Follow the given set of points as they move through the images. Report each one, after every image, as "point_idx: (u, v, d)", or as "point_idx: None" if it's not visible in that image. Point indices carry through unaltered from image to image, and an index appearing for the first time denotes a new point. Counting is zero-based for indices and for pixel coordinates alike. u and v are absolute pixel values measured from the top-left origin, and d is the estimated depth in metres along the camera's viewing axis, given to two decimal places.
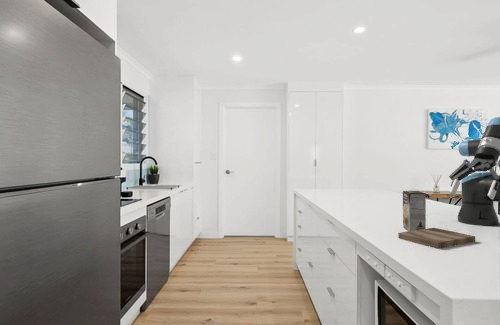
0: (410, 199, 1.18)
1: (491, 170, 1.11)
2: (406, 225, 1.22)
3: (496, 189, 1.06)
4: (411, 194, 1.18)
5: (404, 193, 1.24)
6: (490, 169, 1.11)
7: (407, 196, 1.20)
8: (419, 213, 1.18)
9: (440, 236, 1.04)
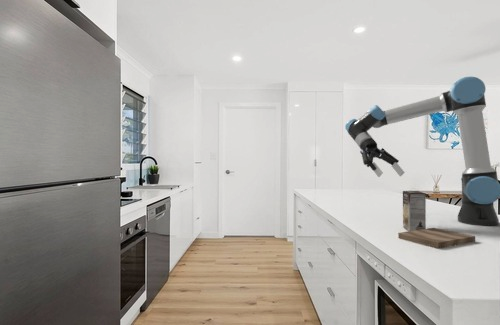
0: (410, 199, 1.18)
1: None
2: (406, 225, 1.22)
3: (374, 169, 1.31)
4: (411, 194, 1.18)
5: (404, 193, 1.24)
6: None
7: (407, 196, 1.20)
8: (419, 213, 1.18)
9: (440, 236, 1.04)
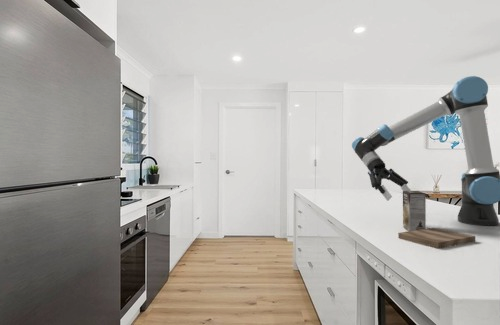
0: (410, 199, 1.18)
1: None
2: (406, 225, 1.22)
3: (383, 192, 1.26)
4: (411, 194, 1.18)
5: (404, 193, 1.24)
6: None
7: (407, 196, 1.20)
8: (419, 213, 1.18)
9: (440, 236, 1.04)
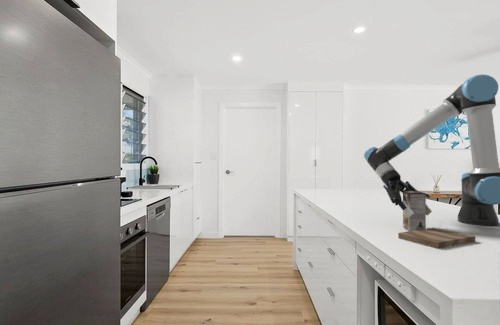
0: (411, 199, 1.18)
1: None
2: (406, 225, 1.22)
3: (404, 208, 1.19)
4: (411, 194, 1.18)
5: (404, 193, 1.24)
6: None
7: (407, 196, 1.20)
8: (419, 213, 1.18)
9: (440, 236, 1.04)
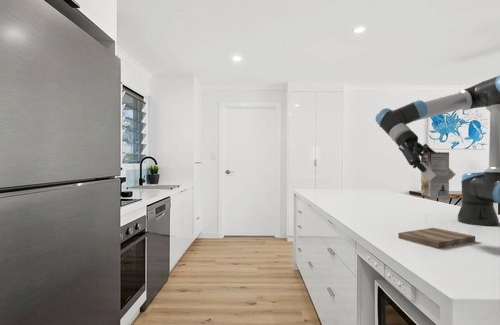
0: (432, 159, 1.03)
1: None
2: (426, 190, 1.07)
3: (424, 171, 1.04)
4: (432, 154, 1.03)
5: (423, 155, 1.09)
6: None
7: (427, 157, 1.05)
8: (441, 176, 1.02)
9: (440, 236, 1.04)
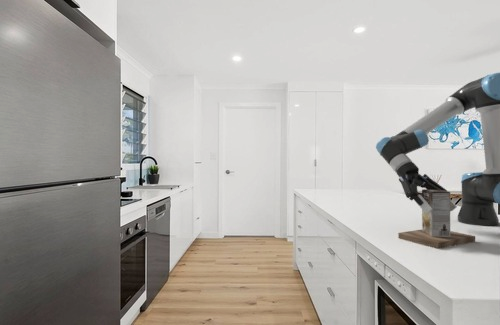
0: (433, 199, 1.03)
1: None
2: (427, 228, 1.07)
3: (420, 204, 1.04)
4: (434, 193, 1.03)
5: (424, 192, 1.09)
6: None
7: (428, 195, 1.05)
8: (442, 215, 1.02)
9: None
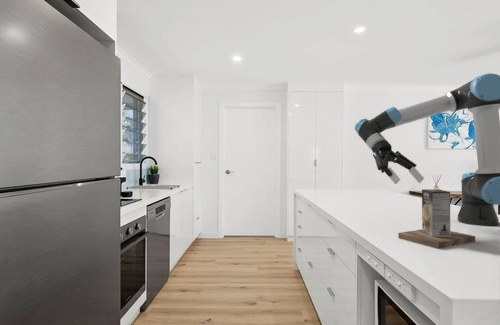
0: (433, 199, 1.03)
1: None
2: (427, 228, 1.07)
3: (390, 175, 1.15)
4: (434, 193, 1.03)
5: (424, 192, 1.09)
6: None
7: (428, 195, 1.05)
8: (442, 215, 1.02)
9: None
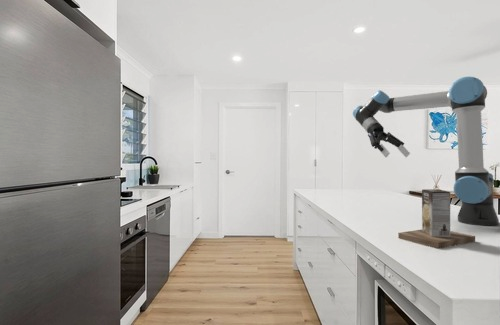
0: (433, 199, 1.03)
1: None
2: (427, 228, 1.07)
3: (381, 150, 1.40)
4: (434, 193, 1.03)
5: (424, 192, 1.09)
6: None
7: (428, 195, 1.05)
8: (442, 215, 1.02)
9: None
